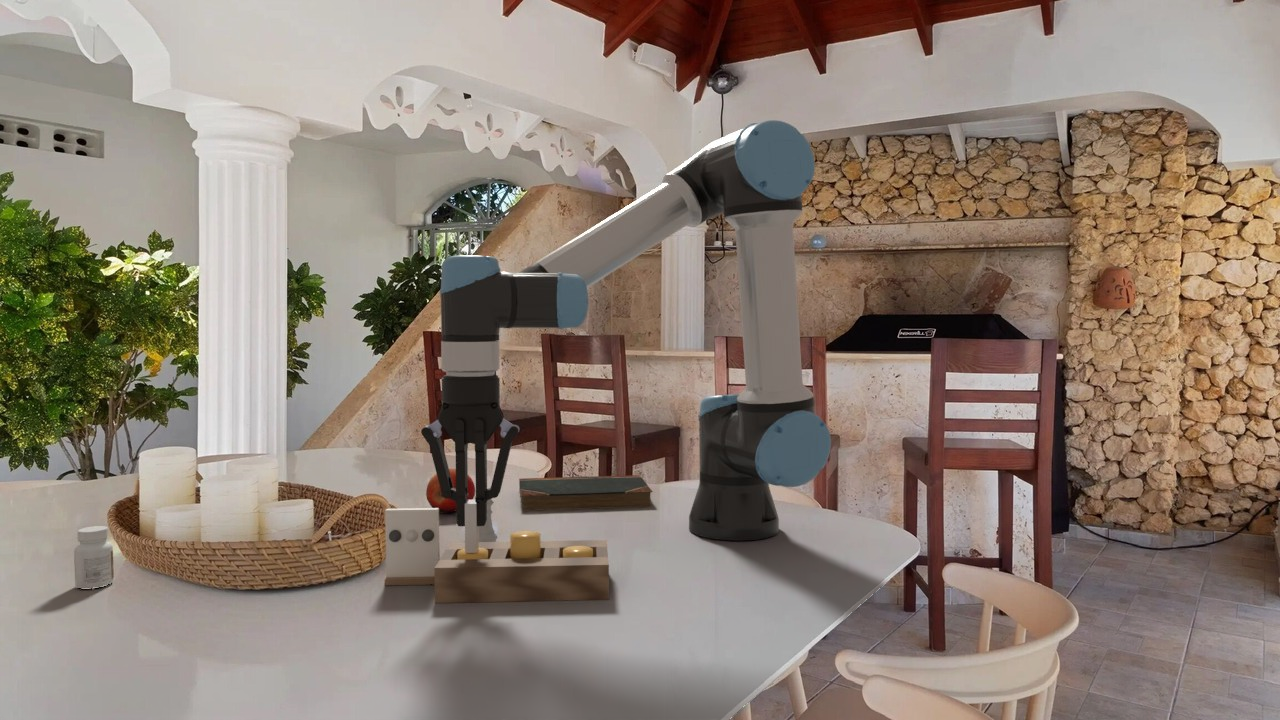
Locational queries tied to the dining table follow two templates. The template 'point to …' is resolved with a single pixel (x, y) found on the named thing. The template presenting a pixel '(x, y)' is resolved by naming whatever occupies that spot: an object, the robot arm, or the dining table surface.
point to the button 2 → (577, 552)
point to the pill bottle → (93, 558)
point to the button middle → (525, 545)
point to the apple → (438, 500)
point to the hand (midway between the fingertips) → (472, 549)
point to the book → (584, 492)
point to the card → (411, 545)
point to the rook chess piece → (487, 526)
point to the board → (523, 574)
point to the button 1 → (473, 554)
